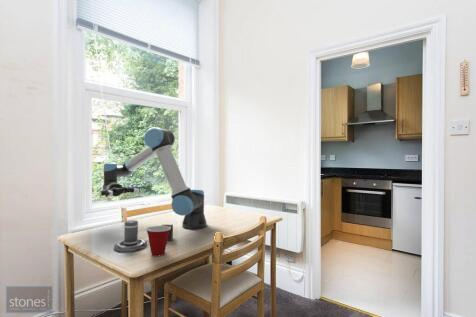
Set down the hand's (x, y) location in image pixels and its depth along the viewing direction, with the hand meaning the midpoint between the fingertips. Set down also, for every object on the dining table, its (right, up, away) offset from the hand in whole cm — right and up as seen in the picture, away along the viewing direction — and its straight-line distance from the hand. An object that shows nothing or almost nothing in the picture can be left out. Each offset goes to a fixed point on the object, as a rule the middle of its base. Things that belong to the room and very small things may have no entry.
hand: (125, 192), depth 137 cm
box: (+22, -25, -1) cm, 33 cm away
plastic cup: (+24, -25, -20) cm, 40 cm away
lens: (+8, -24, -12) cm, 27 cm away
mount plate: (+8, -25, -12) cm, 28 cm away
